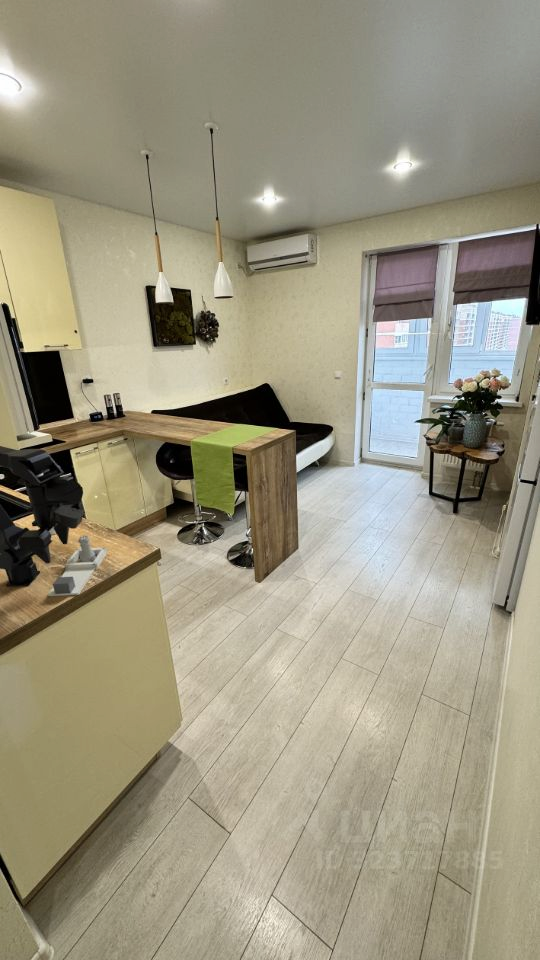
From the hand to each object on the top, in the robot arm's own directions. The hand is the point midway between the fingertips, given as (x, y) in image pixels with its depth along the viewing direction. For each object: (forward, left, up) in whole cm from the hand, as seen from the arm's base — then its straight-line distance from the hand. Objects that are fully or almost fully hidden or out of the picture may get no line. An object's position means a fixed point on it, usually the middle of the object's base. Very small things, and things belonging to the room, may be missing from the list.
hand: (57, 553), depth 100 cm
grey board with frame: (+1, +6, -11) cm, 13 cm away
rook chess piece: (+1, +13, -11) cm, 18 cm away
